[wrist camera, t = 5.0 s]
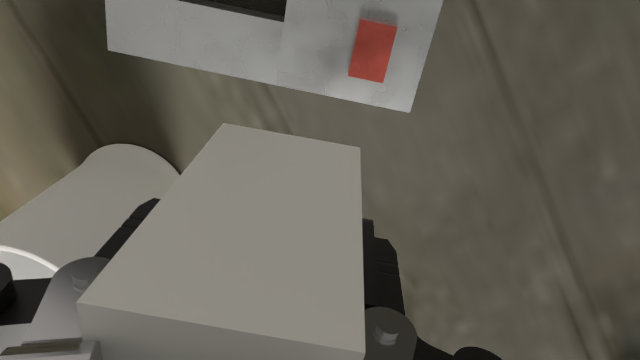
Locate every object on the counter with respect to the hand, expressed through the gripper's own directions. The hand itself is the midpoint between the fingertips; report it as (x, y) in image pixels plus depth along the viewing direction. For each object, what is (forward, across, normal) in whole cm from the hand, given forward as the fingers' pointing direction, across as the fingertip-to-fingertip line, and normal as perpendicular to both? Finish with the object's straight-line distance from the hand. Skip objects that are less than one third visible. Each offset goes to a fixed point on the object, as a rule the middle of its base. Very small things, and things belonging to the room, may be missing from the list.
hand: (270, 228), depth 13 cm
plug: (+2, 0, 0) cm, 2 cm away
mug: (+16, +13, +12) cm, 24 cm away
